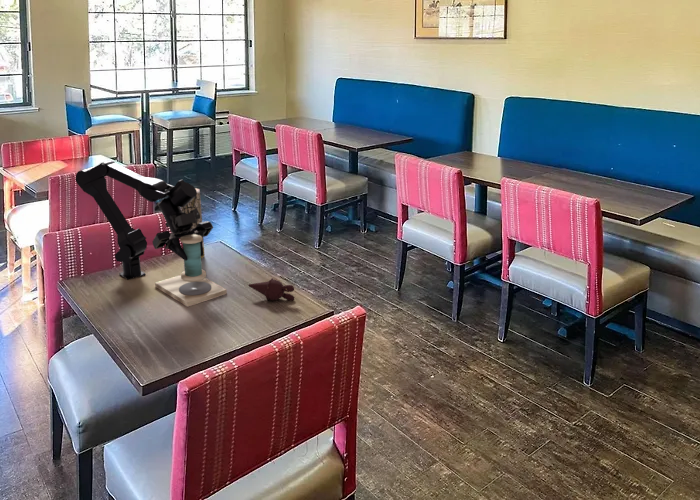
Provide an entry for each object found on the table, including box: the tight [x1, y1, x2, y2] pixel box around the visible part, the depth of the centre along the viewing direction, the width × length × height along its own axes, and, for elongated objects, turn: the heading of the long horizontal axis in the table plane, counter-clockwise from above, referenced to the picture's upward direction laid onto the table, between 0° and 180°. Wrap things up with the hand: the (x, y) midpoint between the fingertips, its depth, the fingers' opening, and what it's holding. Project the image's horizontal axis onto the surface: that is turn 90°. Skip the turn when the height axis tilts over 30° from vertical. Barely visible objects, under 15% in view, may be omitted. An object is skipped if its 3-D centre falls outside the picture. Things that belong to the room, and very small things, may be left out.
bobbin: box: [179, 234, 207, 282], centre depth 200 cm, size 8×8×13 cm
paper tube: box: [180, 187, 205, 260], centre depth 229 cm, size 7×7×25 cm
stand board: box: [154, 274, 228, 307], centre depth 206 cm, size 20×14×2 cm
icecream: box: [248, 278, 295, 302], centre depth 200 cm, size 7×7×15 cm
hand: (194, 257), depth 199 cm, fingers closed on bobbin, 5 cm apart
